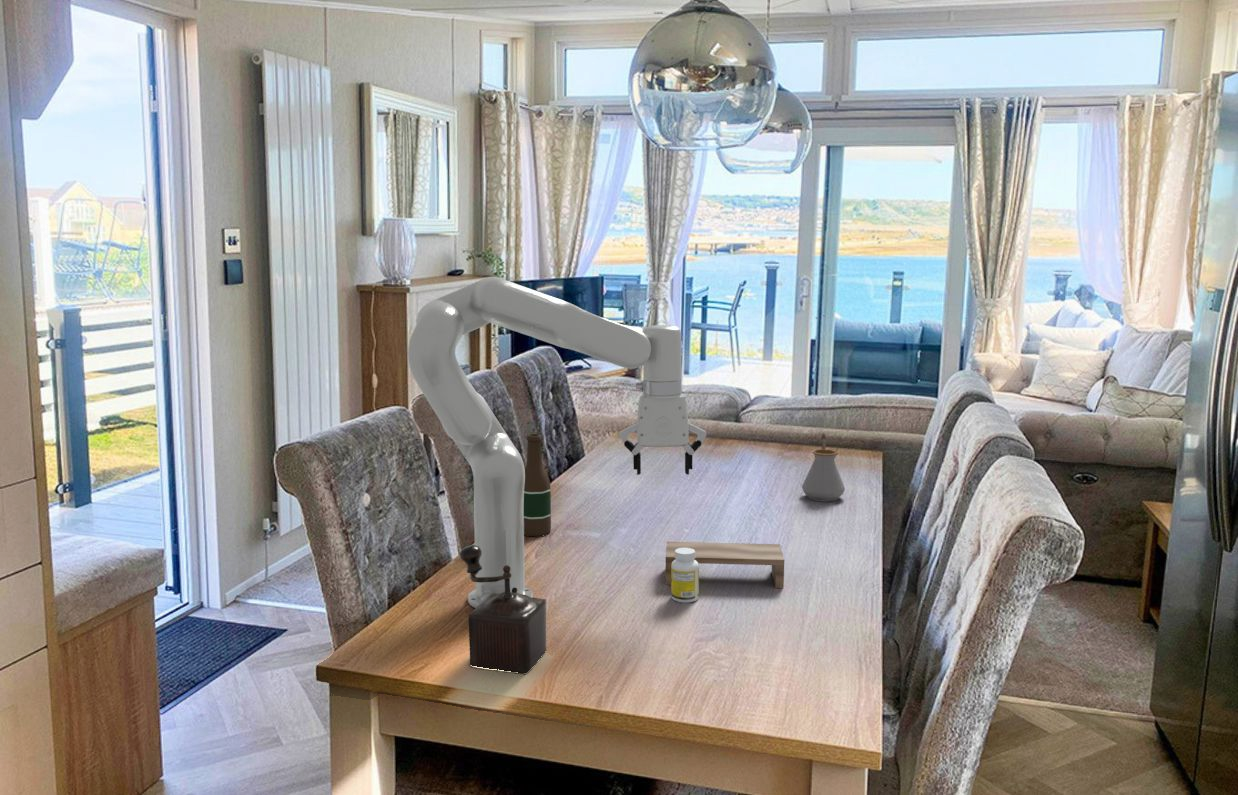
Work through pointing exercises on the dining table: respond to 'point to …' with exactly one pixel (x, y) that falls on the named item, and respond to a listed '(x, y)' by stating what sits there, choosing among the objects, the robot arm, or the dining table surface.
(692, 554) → the supplement bottle
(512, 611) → the manual coffee grinder
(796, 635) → the dining table surface
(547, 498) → the beer bottle
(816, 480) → the coffee pot
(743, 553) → the wooden shelf
